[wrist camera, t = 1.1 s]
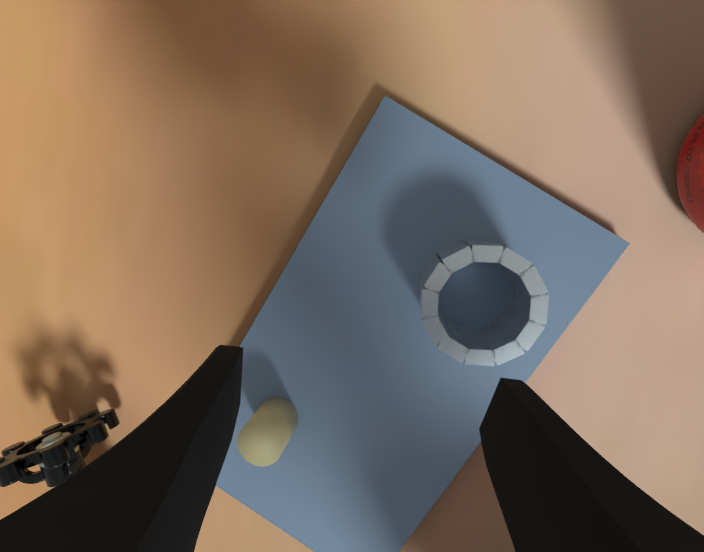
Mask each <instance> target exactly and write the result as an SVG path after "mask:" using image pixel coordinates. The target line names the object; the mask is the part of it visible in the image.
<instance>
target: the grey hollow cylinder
mask: <svg viewBox="0 0 704 552" xmlns="http://www.w3.org/2000/svg"><path fill="white" fill-rule="evenodd" d="M437 253H438V255H439V256H437V255H436V254H435V255H434V256H433V258H432V259H431V261H430V262H429V264H428V265H427V267H426V268H425V270H424V271H423V273H422V277H421V286H420V309H421V317H422V322H423V324H424V326H425V327H426V329H427V331H428V333H429V335H430V337H431V339H432V341H433V342H434V344H435V345H437V348H438V349H440V350H442V351H443V352H445V353H446V354H448V355H449V356H451V357H453V358H454V359H456V360H457V361H459V362H461V363H462V362H463V361H464V363H465V364H468V365H482V366H494V364H495V362H496V363H497V365H501V364H503V363H505V362H507V361H509V360H512V359H514V358H516V357H518V356H521V355H523V354H525V353H524V351H523V349H525V350H526V351H528V350H529V349H530V348H531V346H532V345H533V343H534V342H535V341H536V339H537V338H538V337H539V335H540V334H541V333H542V331H543V330H544V329H545V327H544V326H543V325H541V324H547V313H548V302H549V295H548V294H546V293H547V292H548V290H547V288H546V286H545V284H544V282H543V280H542V278H541V277H540V275H539V273H538V271H537V269H536V267H535V265H532V262H530V261H528V260H527V259H525V258H523V257H522V256H520V255H519V254H517V253H515V252H514V251H512V250H510V249H509V248H507V247H505V246H501V245H498V244H495V243H492V242H489V241H475V240H462V242H460V241H458V242H456V243H454V244H452V245H450V246H448V247H446V248H444V249H442V250H440V251H438V252H437ZM473 262H492V263H498V264H500V265H501V266H502V268H503V270H504V272H505V274H506V276H507V278H508V280H509V282H510V291H509V303H508V304H507V305H506V307H505V308H504V310H503V311H502V312H501V314H500V315H499V317H498V318H497V319H495V320H493V321H491V322H489V323H487V324H485V325H483V326H480V327H467V326H458V325H457V324H455V323H453V322H452V321H450V320H449V319H447V318H445V317H444V316H442V314H441V312H440V310H439V308H438V300H439V292H440V290H441V289H442V287H443V286H444V284H445V283H446V281H447V280H448V278H449V277H450V275H451V274H452V273H453V272H455V271H457V270H459V269H461V268H463V267H465V266H467V265H469V264H471V263H473ZM522 348H523V349H522Z"/></svg>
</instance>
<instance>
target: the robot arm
mask: <svg viewBox="0 0 704 552" xmlns="http://www.w3.org/2000/svg"><path fill="white" fill-rule="evenodd" d="M242 364H243V347H234V346H226V345H220V346H218V347H216V348H215V350H214V351H213V352H212V353H211V355H210V356H209V357H208V358H207V359H206V360H205V362H204V363H203V364H202V365H201V366H200V367H199V368H198V369H197V370H196V371H195V373H194V374H193V375H192V376H191V377H190V378H189V379H188V380H187V381H186V382H185V383H184V384H183V385H182V386H181V387H180V388H179V389H178V390H177V391H176V392H175V393H174V394H173V395H172V396H171V397H170V398H169V399H168V400H167V401H166V402H165V403H164V404H163V405H161V406H160V407H159V408H158V409H157V410H156V411H155V412H154V413H153V414H152V415H150V416H149V417H148V418H147V419H146V420H145V421H144V422H143V423H141V424H140V425H139V426H138V427H137V428H136V429H134V430H133V431H132V432H131V433H129V434H128V435H127V436H126V437H125V438H123V439H122V440H121V441H119V442H118V443H117V444H116V445H114V446H113V447H112V448H110V449H109V450H108V451H106V452H105V453H104V454H102V455H101V456H100V457H98V458H97V459H95V460H94V461H93V462H91V463H90V464H88V465H87V466H85V467H84V468H83V469H81V470H80V471H78V472H77V473H76V474H74V475H73V476H71V477H70V478H68V479H67V480H65V481H64V482H62V483H60V484H59V485H57V486H56V487H54V488H53V489H51V490H49V491H48V492H46V493H44V494H43V495H41V496H39V497H38V498H36V499H35V500H33V501H31V502H30V503H28V504H26V505H25V506H23V507H21V508H20V509H18V510H17V511H15V512H13V513H11V514H10V515H8V516H6V517H5V518H3V519H1V520H0V552H194V549H195V545H196V541H197V538H198V535H199V532H200V528H201V525H202V522H203V519H204V516H205V514H206V511H207V508H208V505H209V502H210V500H211V497H212V494H213V491H214V488H215V486H216V483H217V480H218V477H219V475H220V472H221V469H222V466H223V463H224V461H225V458H226V455H227V452H228V449H229V446H230V443H231V441H232V437H233V433H234V429H235V425H236V420H237V416H238V412H239V408H240V401H241V383H242ZM479 432H480V437H481V442H482V448H483V452H484V457H485V461H486V465H487V469H488V472H489V475H490V478H491V481H492V484H493V487H494V490H495V493H496V495H497V498H498V501H499V504H500V507H501V510H502V513H503V516H504V519H505V522H506V524H507V527H508V530H509V533H510V536H511V539H512V542H513V545H514V548H515V551H516V552H704V535H702V534H701V533H699V532H698V531H696V530H695V529H694V528H692V527H691V526H689V525H688V524H686V523H685V522H684V521H682V520H681V519H679V518H678V517H676V516H675V515H674V514H672V513H671V512H670V511H668V510H667V509H666V508H664V507H663V506H662V505H660V504H659V503H658V502H656V501H655V500H654V499H653V498H651V497H650V496H649V495H648V494H646V493H645V492H644V491H642V490H641V489H640V488H639V487H637V486H636V485H635V484H634V483H632V482H631V481H630V480H629V479H627V478H626V477H625V476H624V475H623V474H621V473H620V472H619V471H618V470H617V469H616V468H615V467H613V466H612V465H611V464H610V463H609V462H608V461H607V460H605V459H604V458H603V457H602V456H601V455H600V454H599V453H598V452H596V451H595V450H594V449H593V448H592V447H591V446H590V445H589V444H588V443H587V442H586V441H585V440H584V439H582V438H581V437H580V436H579V435H578V434H577V433H576V432H575V431H574V430H573V429H572V428H571V427H570V426H569V425H568V424H567V423H566V422H565V421H564V420H563V419H562V418H561V417H560V416H559V415H558V414H557V413H555V412H554V411H553V410H552V409H551V408H550V407H549V406H548V405H547V404H546V403H545V402H544V401H543V400H542V399H541V398H540V397H539V396H538V395H537V394H536V393H535V392H534V391H533V390H532V389H531V388H530V387H529V386H528V385H526V384H525V383H524V382H523V381H522V380H517V379H508V378H500V380H499V383H498V385H497V387H496V390H495V392H494V395H493V397H492V399H491V402H490V404H489V406H488V409H487V411H486V414H485V416H484V418H483V421H482V423H481V425H480V428H479Z"/></svg>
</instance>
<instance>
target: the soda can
mask: <svg viewBox="0 0 704 552" xmlns="http://www.w3.org/2000/svg"><path fill="white" fill-rule="evenodd" d="M676 179H677V188H678V193H679V197H680V200H681V203H682V205H683V207H684V209H685V211H686V213H687V215H688V216H689V218H690V219H691V220H692V222H693V223H694V224H695V225H696V226H697V227H698V228H699V229H700V230H701V231H702V232H704V113H703V114H702V115H701V116H700V117H699V118H698V120H697V121H696V122H695V123H694V125H693V126H692V128H691V129H690V131H689V133H688V134H687V136H686V138H685V140H684V143H683V145H682V148H681V151H680V154H679V158H678V163H677V173H676Z"/></svg>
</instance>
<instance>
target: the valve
mask: <svg viewBox="0 0 704 552" xmlns="http://www.w3.org/2000/svg"><path fill="white" fill-rule="evenodd" d="M106 423H107V425H108V426H109V429H112V428H114V427H116V426H117V425H118V424H119V420H118V417H117V415H116V412H115V410H114V409H109V410H106V411H103V412H101V413H99V414H98V411H97V410H94V411H91V412H88V413H86V414H83V415H82V416H80V417H79V418H78V420H76V421H74V422H72V423H70V424H67V425H64V426H63V424H62V423H58V424H55V425H52V426H50V427H48V428H46V429H44V430H43V431H42V435H41V436H39V437H37V438H35V439H33V440H31V441H28V442H19V443H16V444H13V445H11V446H9V447H7V448H5V449H4V450H3V451H2V452H1V453H2V455H3V457H0V486H1V487H5V486H8V485H10V484H13V483H15V482H17V481H20V482H23V483H27V484H34V483H39V482H42V481H44V480H45V481H46V483H47V486H48V487H55V486H57V485H59V484H60V483H62V482H64V481H65V480H67V479H68V478H70V477H71V476H73V475H74V474H76V473H77V472H78V471H80V470H81V469H83V468H84V467H85V466H86V463H85V461H84V458H85V457H86V456H87V455H88V453H89V451H90V449H91V446H92V445H95V444H97V443H100V442H102V441H103V440H105V439H106V438H107V437H108V436H109V435H108V432H107V430H106V427H105V424H106ZM37 464H39V466H40V469H41V470H39V471H37V472H32V471H29V470H28V469H27V468H29V467H32V466H35V465H37Z"/></svg>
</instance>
